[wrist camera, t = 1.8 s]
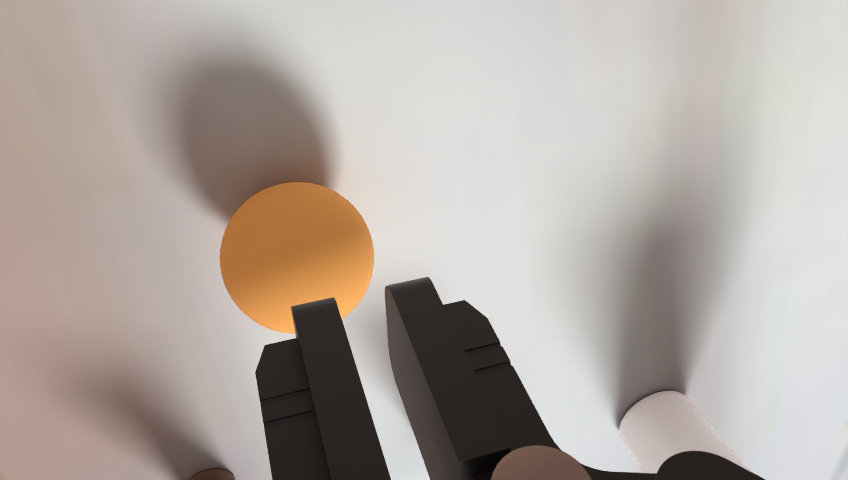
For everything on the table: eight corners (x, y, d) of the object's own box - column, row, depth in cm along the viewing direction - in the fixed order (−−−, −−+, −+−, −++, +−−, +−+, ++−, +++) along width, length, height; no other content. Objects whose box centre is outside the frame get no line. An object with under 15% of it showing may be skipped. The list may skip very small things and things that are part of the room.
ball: (200, 167, 28) (211, 261, 24) (349, 142, 30) (386, 226, 25) (229, 281, 32) (242, 381, 28) (360, 255, 33) (394, 345, 29)
